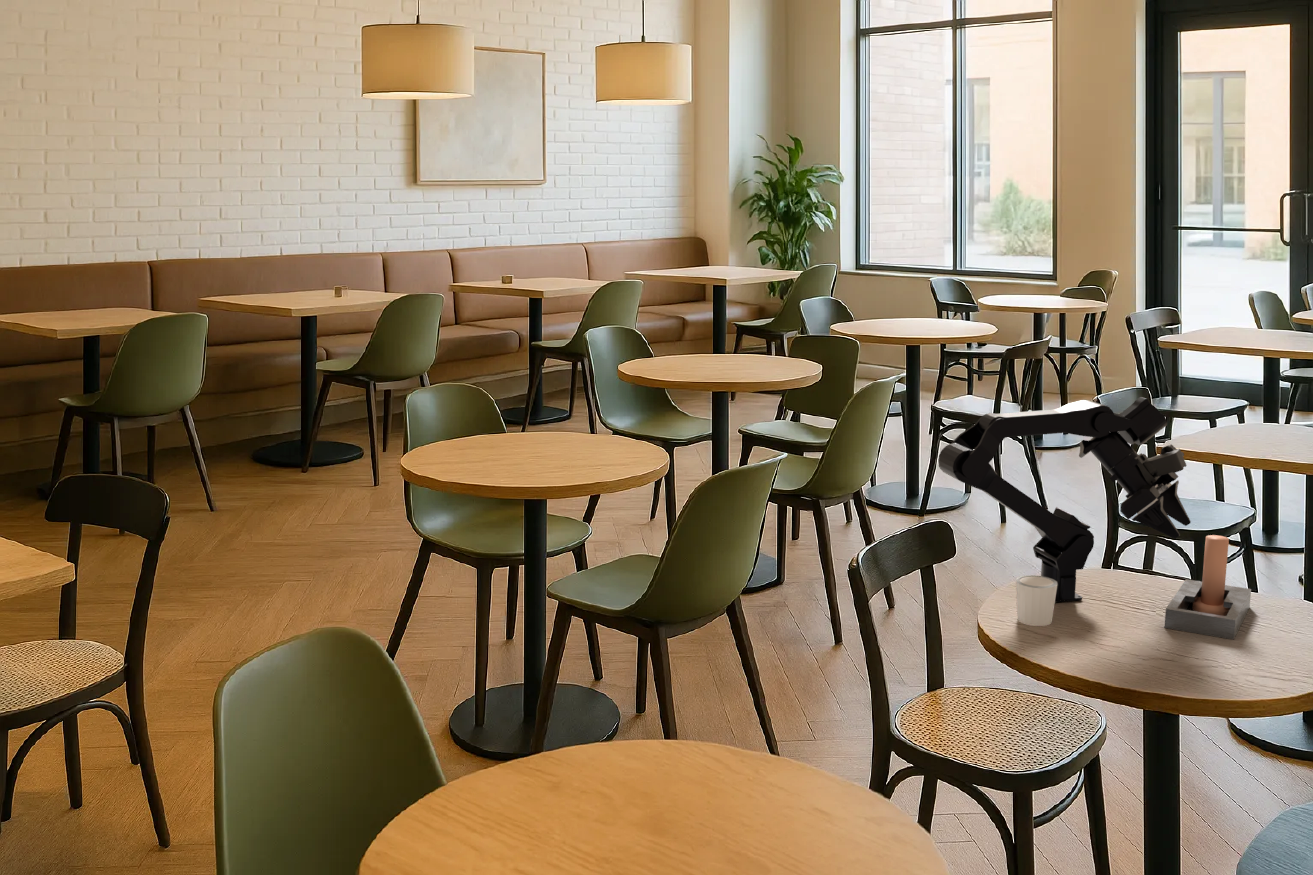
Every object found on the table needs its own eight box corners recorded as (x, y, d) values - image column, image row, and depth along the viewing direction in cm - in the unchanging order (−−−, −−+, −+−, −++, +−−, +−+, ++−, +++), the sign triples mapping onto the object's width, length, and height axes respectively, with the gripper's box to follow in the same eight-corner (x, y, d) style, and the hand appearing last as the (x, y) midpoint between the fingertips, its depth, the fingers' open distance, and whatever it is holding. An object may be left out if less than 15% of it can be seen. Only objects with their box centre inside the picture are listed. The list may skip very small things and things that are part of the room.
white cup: (1050, 613, 212) (1052, 574, 211) (1059, 627, 206) (1061, 587, 204) (1010, 612, 213) (1011, 574, 211) (1017, 626, 206) (1019, 587, 205)
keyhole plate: (1233, 639, 199) (1235, 620, 199) (1164, 627, 205) (1165, 608, 204) (1249, 607, 214) (1251, 589, 213) (1184, 596, 220) (1185, 579, 219)
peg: (1187, 610, 213) (1192, 538, 210) (1200, 602, 217) (1205, 531, 214) (1223, 618, 209) (1229, 545, 206) (1235, 609, 213) (1241, 537, 210)
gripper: (1145, 442, 204) (1211, 516, 201) (1169, 423, 220) (1231, 491, 216) (1093, 482, 210) (1157, 554, 207) (1120, 461, 226) (1180, 527, 222)
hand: (1183, 530), depth 213 cm, fingers open, 9 cm apart
